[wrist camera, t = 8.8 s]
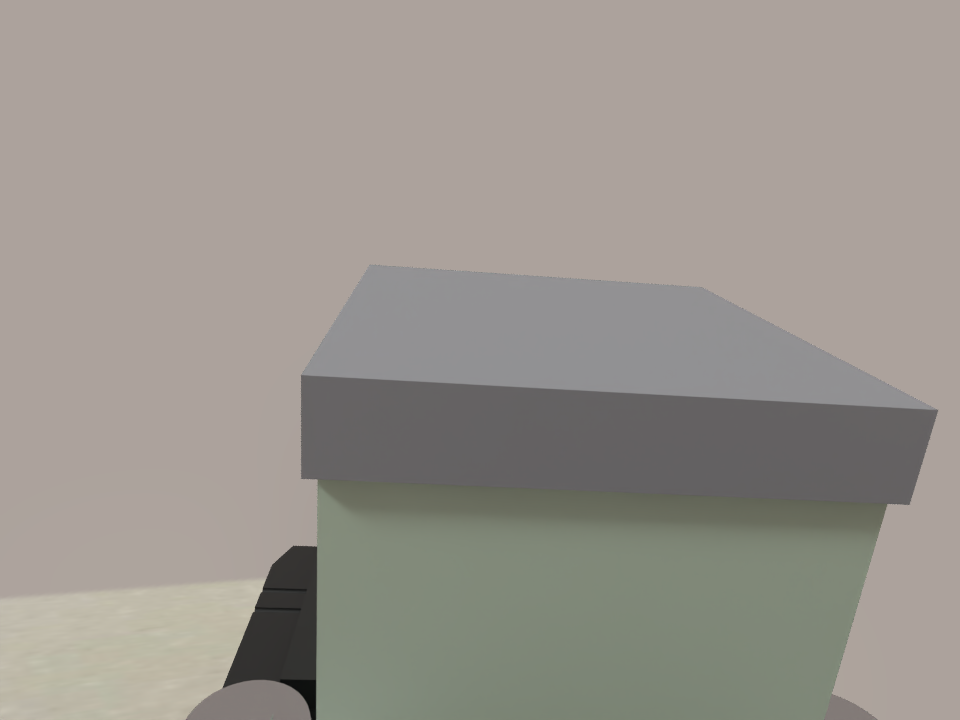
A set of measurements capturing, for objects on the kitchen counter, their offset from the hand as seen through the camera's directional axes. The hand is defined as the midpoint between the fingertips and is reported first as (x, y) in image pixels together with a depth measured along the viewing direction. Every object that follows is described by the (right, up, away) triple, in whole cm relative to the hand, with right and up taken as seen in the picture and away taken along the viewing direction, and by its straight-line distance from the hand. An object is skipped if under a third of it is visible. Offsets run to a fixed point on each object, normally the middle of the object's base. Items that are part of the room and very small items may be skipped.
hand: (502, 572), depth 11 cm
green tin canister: (0, -8, 0) cm, 8 cm away
